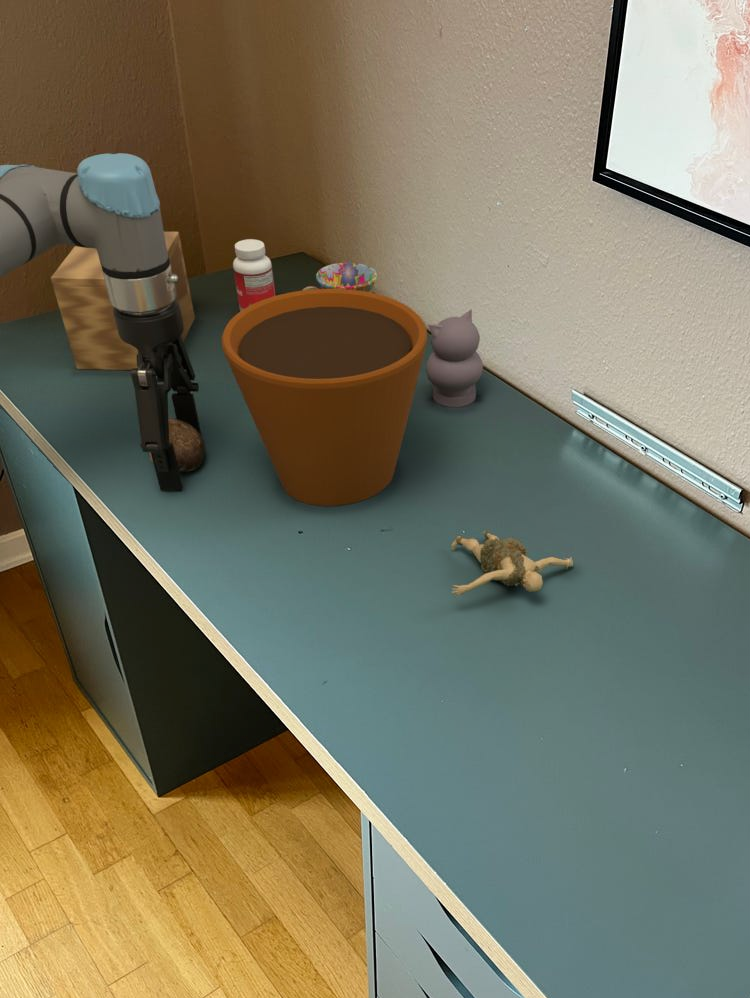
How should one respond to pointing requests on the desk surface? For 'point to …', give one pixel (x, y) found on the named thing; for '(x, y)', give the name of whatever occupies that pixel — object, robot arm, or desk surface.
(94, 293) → the wood grain cube
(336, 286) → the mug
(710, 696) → the desk surface
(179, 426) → the mushroom
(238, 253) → the pill bottle
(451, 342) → the cat figurine
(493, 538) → the figurine
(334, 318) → the flower pot
